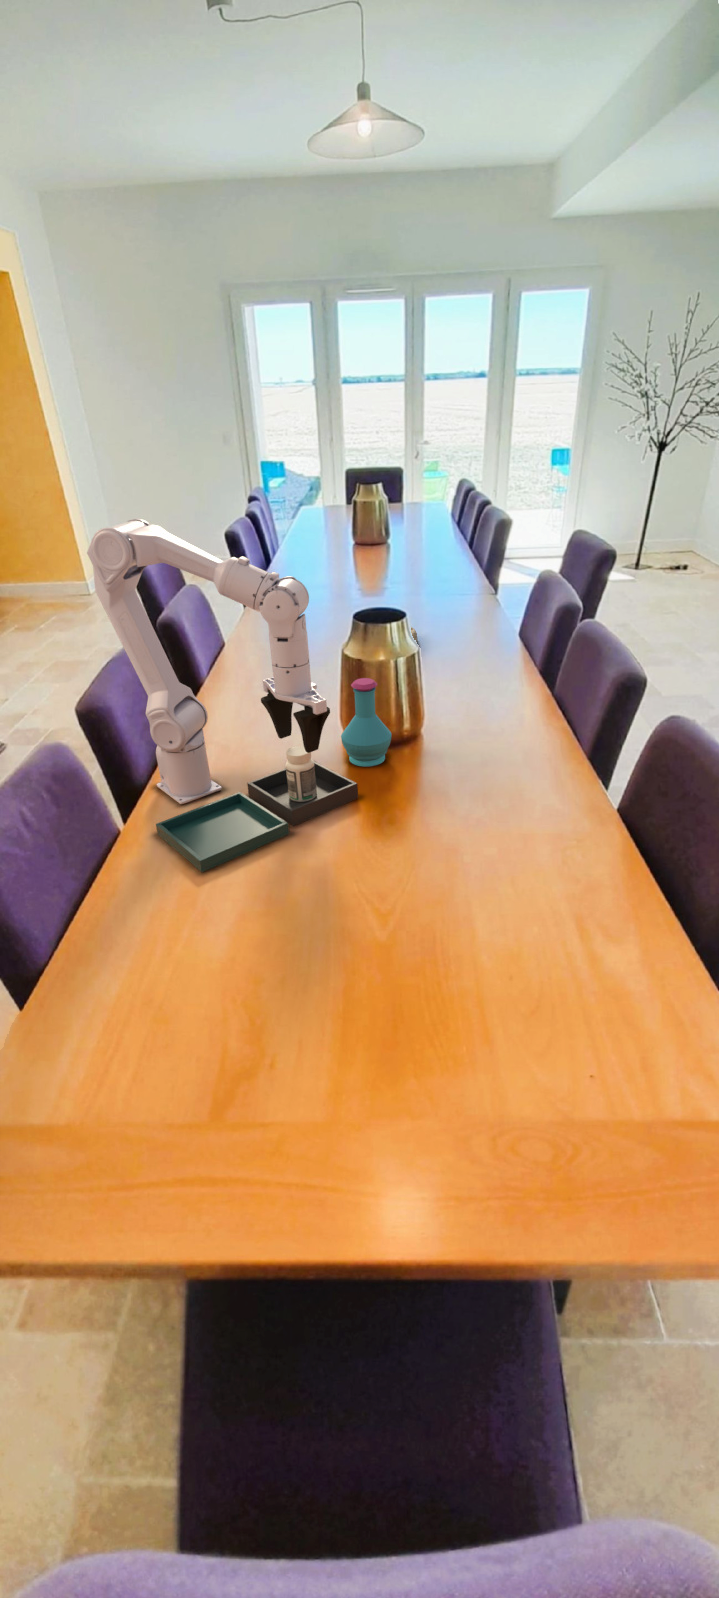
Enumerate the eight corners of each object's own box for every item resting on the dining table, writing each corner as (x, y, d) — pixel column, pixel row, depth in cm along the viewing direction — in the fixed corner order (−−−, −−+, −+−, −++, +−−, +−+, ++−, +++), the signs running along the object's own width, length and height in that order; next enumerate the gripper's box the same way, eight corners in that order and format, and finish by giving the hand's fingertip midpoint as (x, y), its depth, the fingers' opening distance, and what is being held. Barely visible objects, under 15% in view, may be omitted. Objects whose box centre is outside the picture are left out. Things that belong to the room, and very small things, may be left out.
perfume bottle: (387, 771, 128) (385, 691, 121) (337, 768, 130) (332, 689, 123) (395, 749, 136) (394, 673, 129) (348, 747, 138) (344, 672, 131)
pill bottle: (320, 790, 122) (316, 745, 118) (313, 803, 118) (309, 757, 114) (293, 788, 123) (288, 743, 119) (285, 802, 119) (280, 756, 115)
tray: (157, 834, 112) (155, 823, 111) (241, 801, 121) (239, 791, 120) (201, 872, 103) (199, 861, 102) (289, 834, 111) (288, 823, 110)
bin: (248, 797, 122) (246, 782, 121) (311, 772, 129) (310, 758, 128) (293, 826, 113) (291, 810, 112) (358, 798, 120) (357, 783, 119)
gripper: (340, 666, 107) (345, 749, 113) (285, 646, 117) (292, 724, 123) (302, 677, 103) (309, 763, 110) (248, 656, 113) (257, 735, 120)
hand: (298, 743), depth 116 cm, fingers open, 7 cm apart
